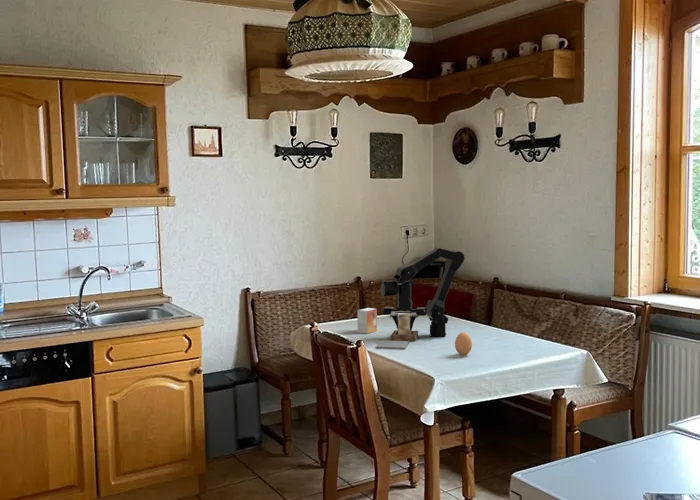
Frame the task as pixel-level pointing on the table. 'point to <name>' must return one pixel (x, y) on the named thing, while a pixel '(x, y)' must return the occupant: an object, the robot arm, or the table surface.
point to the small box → (367, 320)
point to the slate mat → (392, 344)
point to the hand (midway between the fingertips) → (404, 330)
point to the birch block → (404, 324)
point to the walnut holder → (404, 336)
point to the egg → (463, 343)
